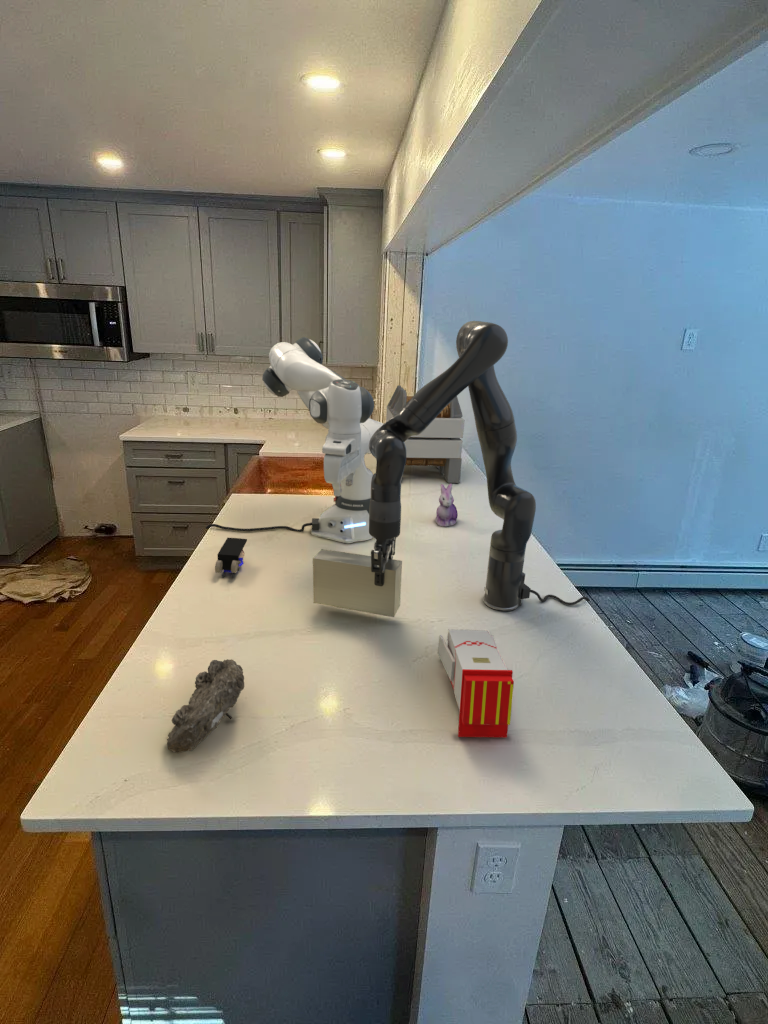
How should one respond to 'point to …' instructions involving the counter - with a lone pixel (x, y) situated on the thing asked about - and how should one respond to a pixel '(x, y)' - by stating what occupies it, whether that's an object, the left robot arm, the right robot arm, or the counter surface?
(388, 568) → the box
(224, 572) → the toy car
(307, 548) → the counter surface
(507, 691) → the toy
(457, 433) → the transformer
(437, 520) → the figurine
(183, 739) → the fossil
